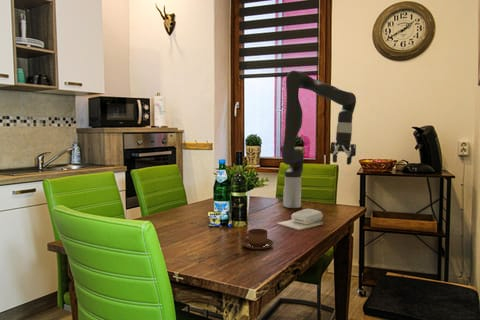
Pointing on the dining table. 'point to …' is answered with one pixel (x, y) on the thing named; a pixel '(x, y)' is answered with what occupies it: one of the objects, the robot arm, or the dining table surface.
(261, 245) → the cup and saucer
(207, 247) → the dining table surface
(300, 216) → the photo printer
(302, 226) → the pad
